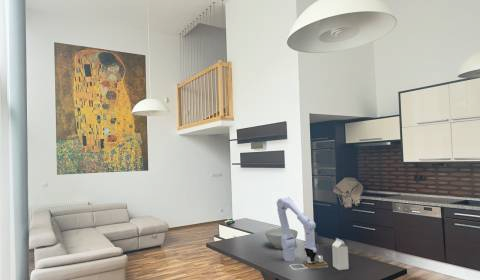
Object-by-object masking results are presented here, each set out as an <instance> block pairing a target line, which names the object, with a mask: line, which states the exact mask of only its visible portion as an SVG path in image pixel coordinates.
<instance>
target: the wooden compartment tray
mask: <svg viewBox="0 0 480 280" xmlns="http://www.w3.org/2000/svg"><path fill="white" fill-rule="evenodd" d="M303 265H304V266H305V267H306V268H307V269H306V270H310V269H319V268H320V269H321V268H328V267H329V266H328V263H327V262H326V261H325V260H323V263H322V264H317V261H314V262H313V264H312V265H309V264H307V261H303Z"/></svg>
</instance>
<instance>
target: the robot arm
mask: <svg viewBox="0 0 480 280" xmlns="http://www.w3.org/2000/svg"><path fill="white" fill-rule="evenodd" d="M291 198H292V197H291ZM291 198H290V197H284V198H283V197H282V198H278V199H277V201H276V206H277V214H278V218H279V223H280V226H281V227H280V228H282V232H283V236H282V238H281V240H282V242H281V245H282V247H283V249H282V259H284V261H285V262H294V261H295V259H296V258H295V248H296V245H297V241H296V240H297V239H295V238H294V236H293V235H292V234H291V232H290V229H291V228H290V225H289V220H288V216H287V213H286V211H287V210H288V209H290V211H292V212H293V214H295V215H296V216H297V217H296V218H297V220H298V221H299V222H300V223H301V224H302V225H303V226H302V227H303V229H304V233H305V243H304V246H303V247H304V251H305V253H306V257H307V256H310V260H311V262H314V260H315V258H316V257H317V254H318V250H317V248H316V244H315V243H316V242H315V241H316V238H315V229H316V227H317V224H316V222H315V221H314V220H313V219H310V217H308V216H307V215H306V213H305V212H301V211H300V209H299V208H298V207H297V205H295V203H294V201H293V200H292V199H291ZM288 238H289V239H288Z"/></svg>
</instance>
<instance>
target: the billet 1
mask: <svg viewBox="0 0 480 280" xmlns="http://www.w3.org/2000/svg"><path fill="white" fill-rule="evenodd" d="M306 262H307V264H309V265H312V264H313V262H311V260H310V256H307V255H306Z"/></svg>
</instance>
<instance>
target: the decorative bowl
mask: <svg viewBox="0 0 480 280" xmlns="http://www.w3.org/2000/svg"><path fill="white" fill-rule="evenodd" d="M290 232H291V234H292V235H293V236H294V238H295V240H297V237H298V233H299V232H298V230H295V229H291V228H290ZM264 234H265V237H266V239H267V240H268V242H269V243H270V244H271V245H273V247H274V248H276V249H279V250H280V249H281V250H283V247H282V245H281V242H282V240H281V238H282V236H283V232H282V228H281V227H280V228H279V227H278V228H271V229H266V230H265V231H264ZM288 239H289V238H288Z"/></svg>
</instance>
